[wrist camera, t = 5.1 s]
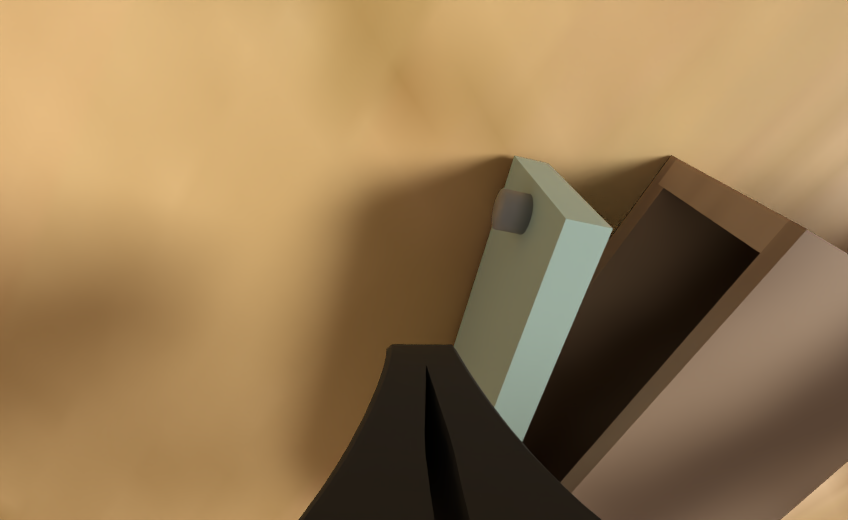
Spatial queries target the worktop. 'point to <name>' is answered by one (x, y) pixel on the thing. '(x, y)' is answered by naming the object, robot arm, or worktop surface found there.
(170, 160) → the worktop surface
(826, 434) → the cabinet
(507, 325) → the cabinet door
